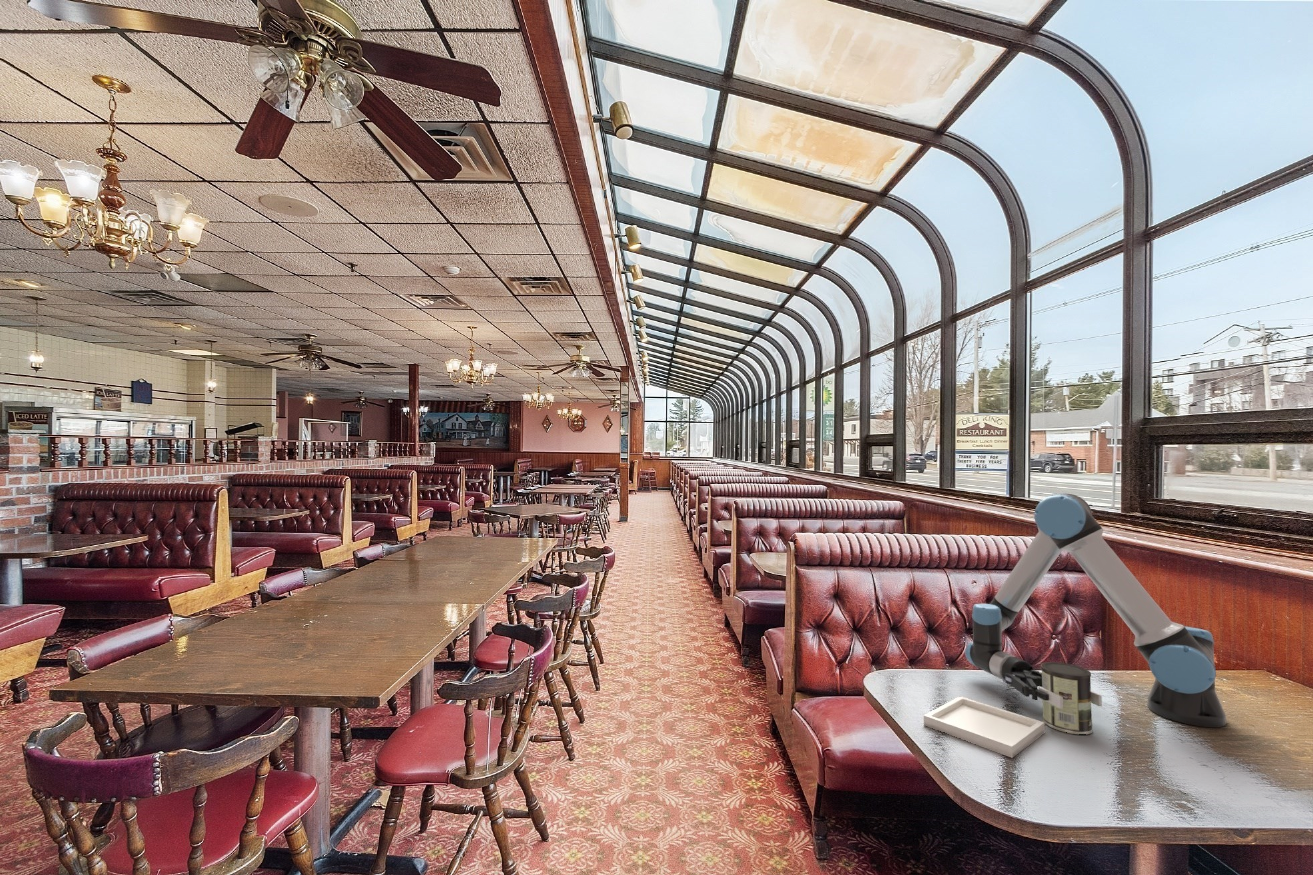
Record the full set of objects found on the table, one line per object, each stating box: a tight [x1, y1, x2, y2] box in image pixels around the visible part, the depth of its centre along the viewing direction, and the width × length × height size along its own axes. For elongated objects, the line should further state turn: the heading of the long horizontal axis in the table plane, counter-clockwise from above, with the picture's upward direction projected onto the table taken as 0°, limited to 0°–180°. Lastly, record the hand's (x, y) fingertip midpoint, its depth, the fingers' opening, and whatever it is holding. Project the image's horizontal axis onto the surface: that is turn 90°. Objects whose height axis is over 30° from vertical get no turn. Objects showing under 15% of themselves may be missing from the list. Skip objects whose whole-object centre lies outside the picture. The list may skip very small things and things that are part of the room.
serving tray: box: [923, 695, 1046, 759], centre depth 141 cm, size 20×20×2 cm
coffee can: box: [1040, 661, 1093, 735], centre depth 144 cm, size 10×10×14 cm
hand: (1081, 701), depth 140 cm, fingers closed on coffee can, 10 cm apart
